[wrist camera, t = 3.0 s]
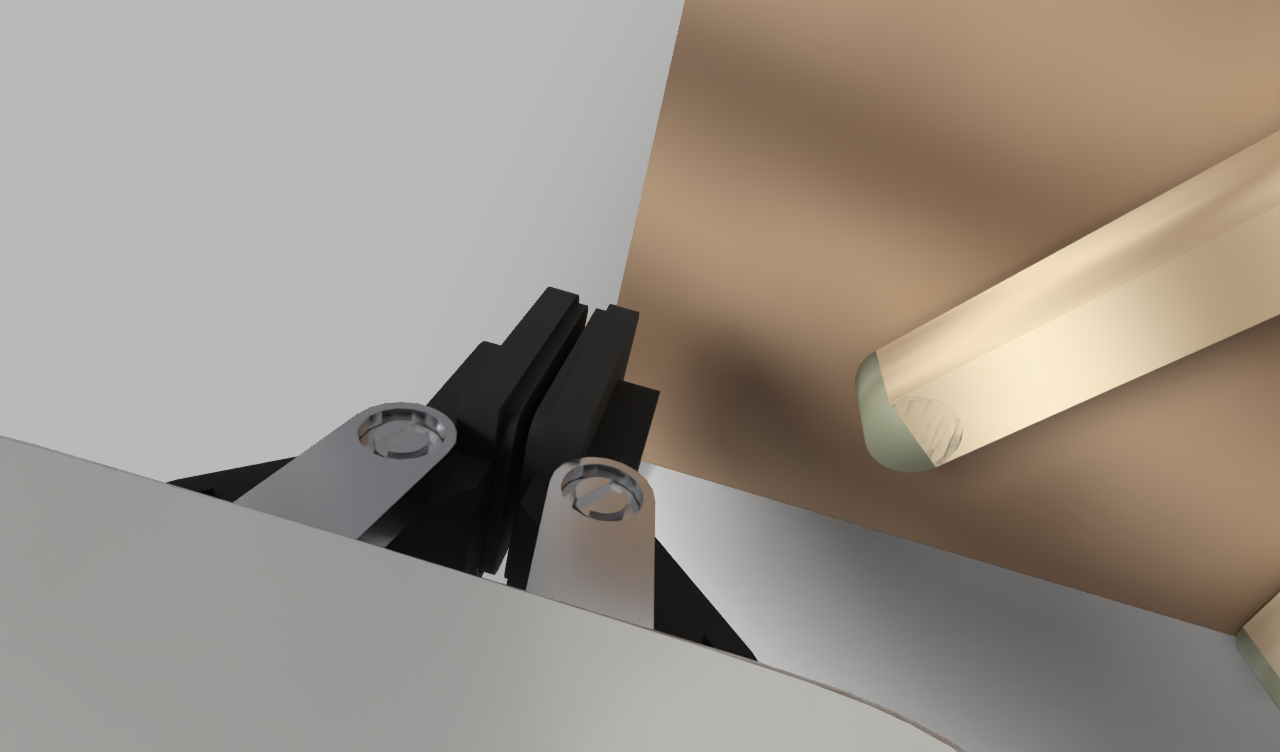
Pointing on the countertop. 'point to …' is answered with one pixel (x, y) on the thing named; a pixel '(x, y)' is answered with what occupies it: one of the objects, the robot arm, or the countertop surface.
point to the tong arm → (1083, 318)
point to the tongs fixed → (1263, 647)
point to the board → (955, 272)
